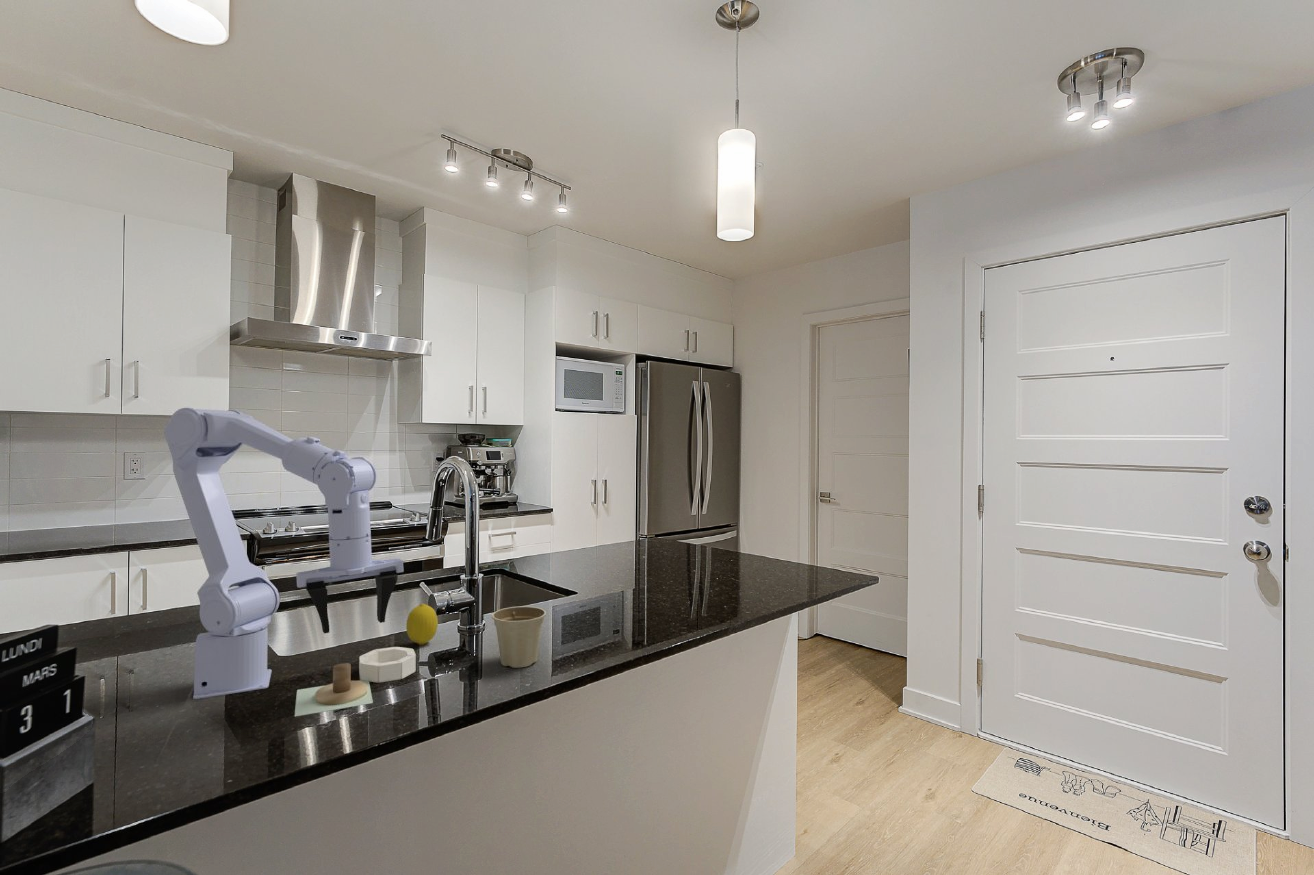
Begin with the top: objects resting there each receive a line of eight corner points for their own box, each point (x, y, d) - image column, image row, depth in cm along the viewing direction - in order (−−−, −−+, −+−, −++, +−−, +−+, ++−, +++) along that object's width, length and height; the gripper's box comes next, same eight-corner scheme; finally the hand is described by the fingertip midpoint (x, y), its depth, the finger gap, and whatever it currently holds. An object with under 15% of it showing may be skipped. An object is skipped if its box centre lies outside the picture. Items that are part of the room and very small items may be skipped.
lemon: (427, 652, 115) (427, 608, 115) (399, 649, 116) (400, 606, 116) (443, 642, 120) (443, 600, 120) (417, 639, 121) (417, 598, 121)
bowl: (361, 687, 98) (361, 668, 98) (358, 669, 106) (358, 651, 106) (417, 678, 102) (417, 660, 102) (411, 661, 110) (411, 644, 110)
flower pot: (480, 662, 110) (481, 613, 110) (525, 649, 117) (525, 603, 117) (511, 676, 104) (511, 624, 104) (556, 662, 111) (557, 613, 111)
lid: (315, 708, 90) (315, 678, 90) (315, 690, 96) (315, 662, 96) (368, 699, 93) (368, 670, 93) (365, 682, 99) (366, 655, 99)
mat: (294, 719, 87) (294, 716, 87) (297, 692, 96) (297, 690, 96) (372, 705, 92) (372, 702, 92) (368, 681, 101) (368, 678, 101)
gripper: (298, 546, 88) (302, 643, 88) (406, 533, 96) (410, 622, 96) (293, 541, 94) (297, 631, 94) (396, 529, 102) (399, 612, 102)
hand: (354, 626), depth 95 cm, fingers open, 7 cm apart
